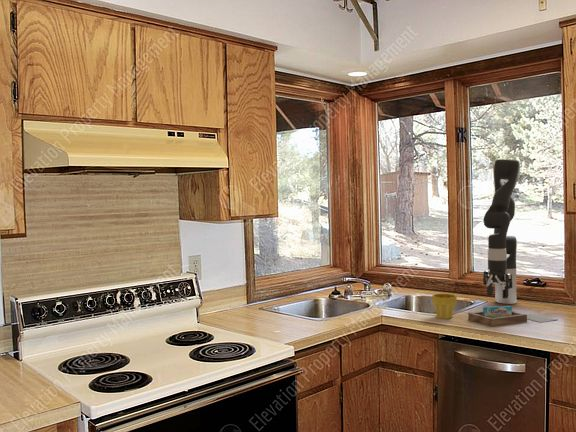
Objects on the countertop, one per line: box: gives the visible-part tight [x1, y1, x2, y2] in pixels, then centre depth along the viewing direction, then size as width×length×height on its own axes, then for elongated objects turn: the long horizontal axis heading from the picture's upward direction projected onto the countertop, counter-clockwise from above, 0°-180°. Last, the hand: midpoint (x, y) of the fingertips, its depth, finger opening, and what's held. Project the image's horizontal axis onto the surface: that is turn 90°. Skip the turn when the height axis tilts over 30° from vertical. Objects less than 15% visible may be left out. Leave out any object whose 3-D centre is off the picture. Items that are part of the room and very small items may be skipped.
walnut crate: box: [467, 310, 528, 327], centre depth 237 cm, size 14×19×3 cm
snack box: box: [482, 305, 513, 318], centre depth 237 cm, size 12×2×6 cm, turn 92°
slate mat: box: [526, 312, 559, 323], centre depth 240 cm, size 14×10×1 cm
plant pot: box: [431, 292, 458, 320], centre depth 245 cm, size 10×10×10 cm
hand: (497, 296), depth 236 cm, fingers open, 8 cm apart
